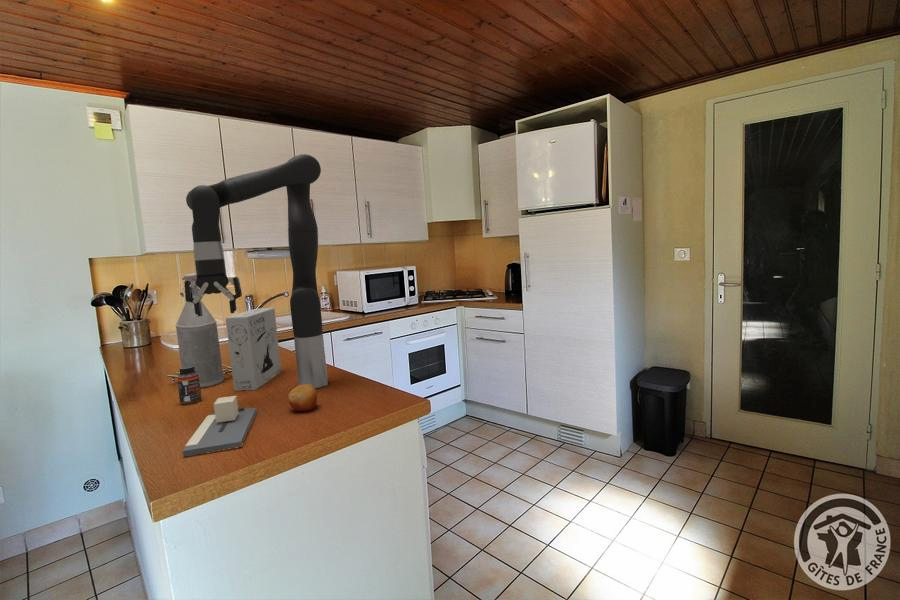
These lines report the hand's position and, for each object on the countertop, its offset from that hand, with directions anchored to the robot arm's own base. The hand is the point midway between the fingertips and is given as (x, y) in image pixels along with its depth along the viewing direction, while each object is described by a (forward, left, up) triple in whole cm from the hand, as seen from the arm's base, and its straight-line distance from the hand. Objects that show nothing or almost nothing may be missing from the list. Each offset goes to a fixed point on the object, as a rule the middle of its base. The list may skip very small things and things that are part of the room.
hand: (216, 314), depth 127 cm
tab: (-3, +15, -26) cm, 30 cm away
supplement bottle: (+13, -12, -28) cm, 33 cm away
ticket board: (-3, +20, -28) cm, 35 cm away
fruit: (-22, +11, -28) cm, 38 cm away
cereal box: (-5, -27, -28) cm, 40 cm away
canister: (+15, -35, -28) cm, 47 cm away
